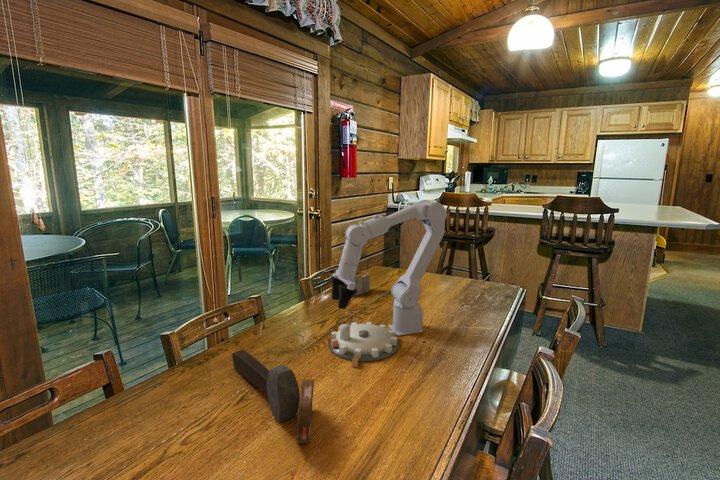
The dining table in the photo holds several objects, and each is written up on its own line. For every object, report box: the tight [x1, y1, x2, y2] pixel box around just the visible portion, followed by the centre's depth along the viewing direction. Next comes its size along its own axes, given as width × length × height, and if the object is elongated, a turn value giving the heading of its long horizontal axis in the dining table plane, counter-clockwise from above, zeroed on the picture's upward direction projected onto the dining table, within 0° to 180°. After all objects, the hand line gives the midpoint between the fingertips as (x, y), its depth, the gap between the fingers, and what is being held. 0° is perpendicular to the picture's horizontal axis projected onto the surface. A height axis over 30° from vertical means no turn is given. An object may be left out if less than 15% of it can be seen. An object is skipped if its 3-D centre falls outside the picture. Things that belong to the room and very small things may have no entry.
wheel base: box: [327, 335, 400, 368], centre depth 114 cm, size 22×24×2 cm
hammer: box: [231, 349, 301, 424], centre depth 90 cm, size 5×11×30 cm
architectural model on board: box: [353, 270, 371, 297], centre depth 159 cm, size 11×3×10 cm, turn 132°
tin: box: [296, 378, 315, 444], centre depth 78 cm, size 15×3×8 cm, turn 5°
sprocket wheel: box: [330, 321, 398, 358], centre depth 114 cm, size 20×20×6 cm
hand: (338, 303), depth 117 cm, fingers open, 7 cm apart
